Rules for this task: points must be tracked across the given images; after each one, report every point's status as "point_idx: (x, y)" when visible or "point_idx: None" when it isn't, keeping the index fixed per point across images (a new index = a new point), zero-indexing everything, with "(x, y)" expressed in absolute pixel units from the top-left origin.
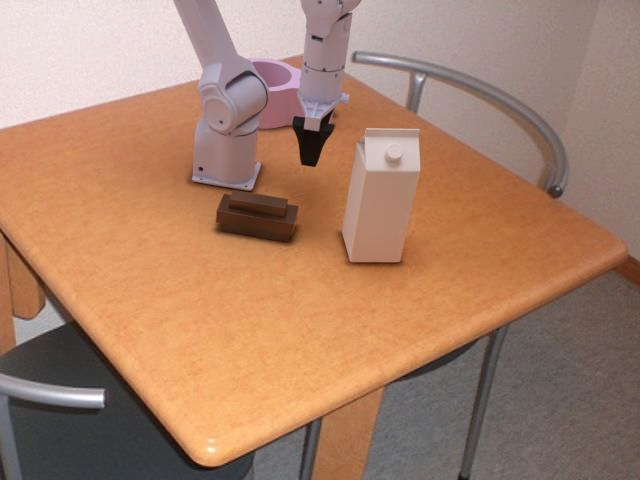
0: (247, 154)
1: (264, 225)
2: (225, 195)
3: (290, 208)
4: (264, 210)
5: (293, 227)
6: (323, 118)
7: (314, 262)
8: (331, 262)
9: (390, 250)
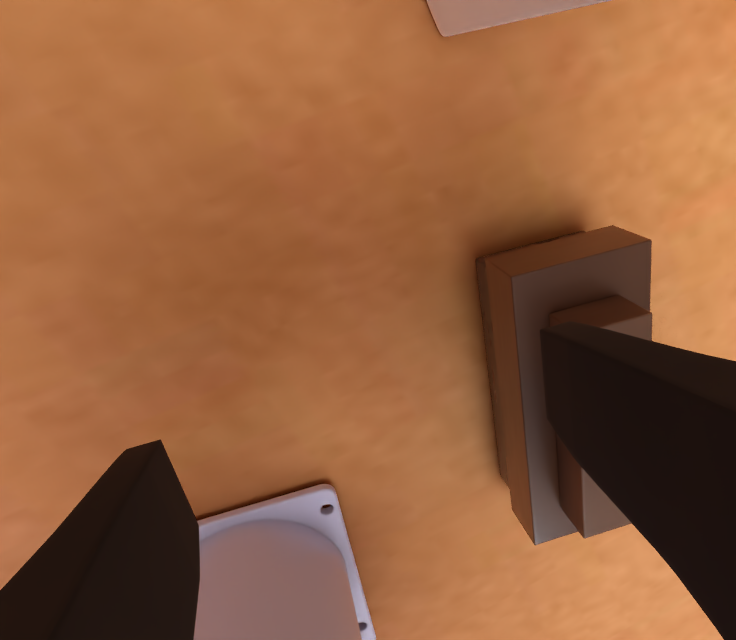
0: (317, 634)
1: None
2: (546, 535)
3: (542, 300)
4: None
5: (621, 235)
6: (116, 629)
7: (672, 83)
8: (656, 11)
9: None
